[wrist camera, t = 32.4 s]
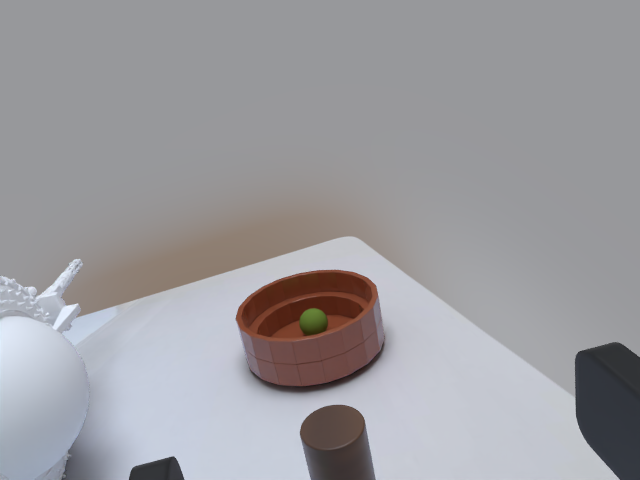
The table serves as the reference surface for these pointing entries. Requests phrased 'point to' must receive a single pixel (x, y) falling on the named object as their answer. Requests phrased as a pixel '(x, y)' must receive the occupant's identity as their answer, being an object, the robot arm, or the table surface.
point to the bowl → (315, 350)
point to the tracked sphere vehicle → (39, 380)
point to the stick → (337, 444)
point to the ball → (313, 322)
